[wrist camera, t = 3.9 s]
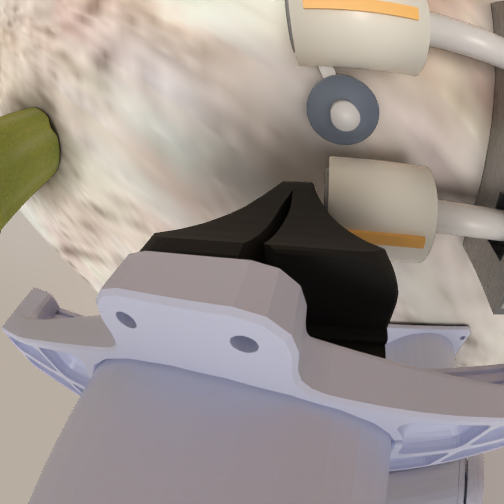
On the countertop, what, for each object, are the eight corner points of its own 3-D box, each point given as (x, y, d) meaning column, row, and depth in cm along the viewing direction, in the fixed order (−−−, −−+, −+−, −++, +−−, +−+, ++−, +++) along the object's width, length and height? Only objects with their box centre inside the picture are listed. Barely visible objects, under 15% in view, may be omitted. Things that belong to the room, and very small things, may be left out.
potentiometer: (378, 124, 11) (395, 145, 9) (322, 138, 12) (320, 164, 10) (352, 51, 10) (361, 46, 7) (293, 69, 11) (281, 70, 8)
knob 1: (517, 106, 7) (570, 132, 4) (300, 65, 10) (287, 66, 7) (517, 30, 5) (571, 34, 2) (292, -18, 7) (275, -52, 4)
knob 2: (499, 240, 12) (528, 292, 8) (323, 222, 14) (318, 278, 11) (519, 175, 9) (562, 218, 6) (326, 144, 12) (324, 180, 8)
